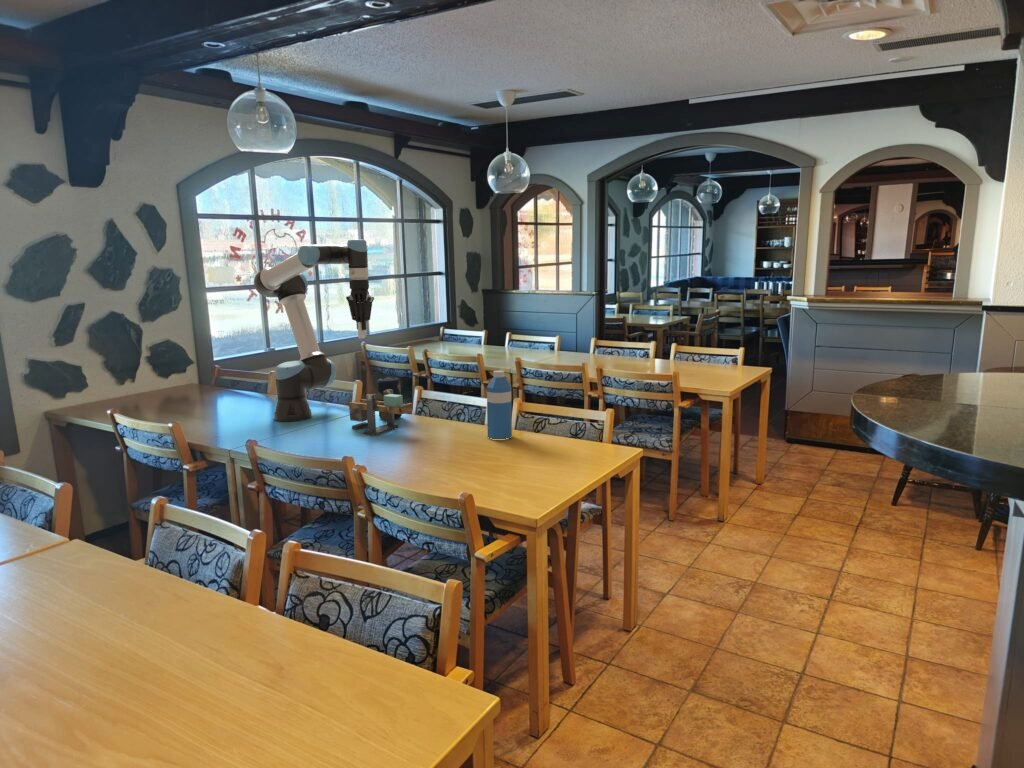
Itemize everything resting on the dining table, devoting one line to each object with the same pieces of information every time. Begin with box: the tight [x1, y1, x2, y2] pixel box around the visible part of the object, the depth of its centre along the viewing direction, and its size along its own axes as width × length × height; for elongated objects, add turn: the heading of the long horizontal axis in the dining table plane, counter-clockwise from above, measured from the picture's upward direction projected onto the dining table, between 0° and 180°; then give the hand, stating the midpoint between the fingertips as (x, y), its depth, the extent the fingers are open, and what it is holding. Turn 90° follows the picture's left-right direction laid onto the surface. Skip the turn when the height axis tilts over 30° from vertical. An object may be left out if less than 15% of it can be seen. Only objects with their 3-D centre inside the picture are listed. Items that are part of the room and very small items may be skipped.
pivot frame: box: [363, 389, 400, 436], centre depth 263 cm, size 6×14×15 cm, turn 150°
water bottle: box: [486, 369, 513, 439], centre depth 250 cm, size 9×9×25 cm
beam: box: [348, 391, 414, 423], centre depth 263 cm, size 26×9×12 cm, turn 60°
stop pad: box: [351, 421, 368, 431], centre depth 270 cm, size 3×7×1 cm, turn 150°
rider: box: [383, 394, 404, 408], centre depth 259 cm, size 6×4×5 cm, turn 60°
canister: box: [376, 375, 403, 421], centre depth 282 cm, size 10×10×18 cm
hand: (362, 338), depth 274 cm, fingers closed
